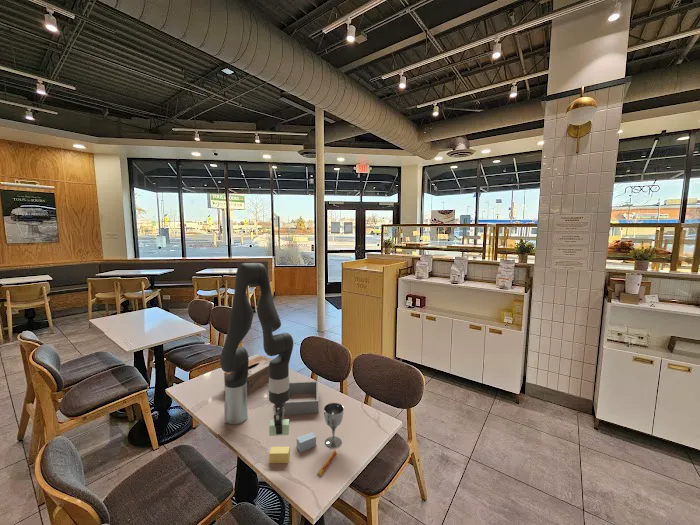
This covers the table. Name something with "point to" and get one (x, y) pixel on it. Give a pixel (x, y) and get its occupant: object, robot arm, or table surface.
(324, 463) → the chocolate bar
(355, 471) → the table surface
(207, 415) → the table surface
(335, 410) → the wine glass
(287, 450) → the ochre brick
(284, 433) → the sage brick
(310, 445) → the slate brick
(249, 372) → the tissue box cover
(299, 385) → the frame
